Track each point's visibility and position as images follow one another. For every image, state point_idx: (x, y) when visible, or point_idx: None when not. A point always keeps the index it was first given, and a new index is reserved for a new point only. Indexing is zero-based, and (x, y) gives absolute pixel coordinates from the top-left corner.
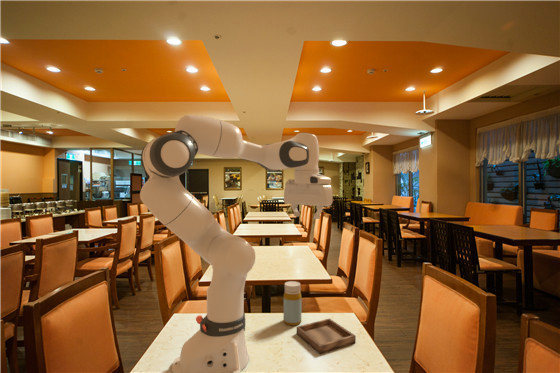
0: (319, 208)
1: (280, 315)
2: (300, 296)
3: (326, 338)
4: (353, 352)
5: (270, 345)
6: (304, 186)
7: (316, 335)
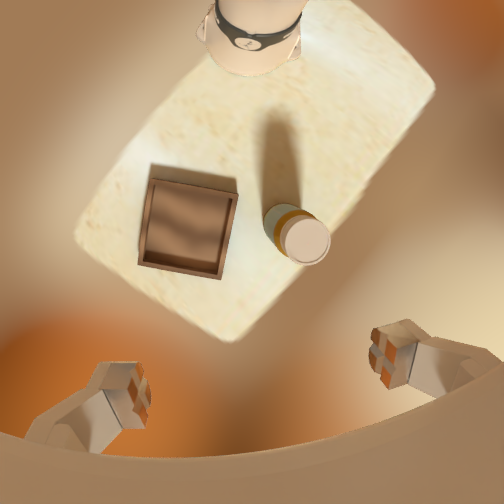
0: (32, 425)
1: None
2: (276, 245)
3: (177, 223)
4: (122, 232)
5: (237, 123)
6: None
7: (198, 215)
